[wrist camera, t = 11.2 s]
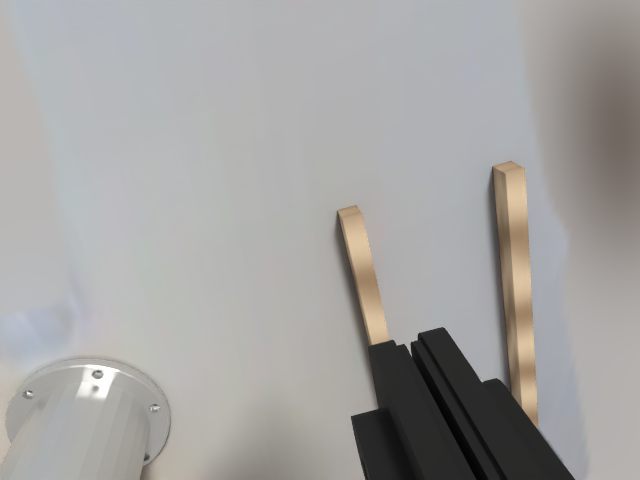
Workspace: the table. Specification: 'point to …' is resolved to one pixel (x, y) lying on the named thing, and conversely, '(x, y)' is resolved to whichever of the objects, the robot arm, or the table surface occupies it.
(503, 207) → the guide channel
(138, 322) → the table surface
